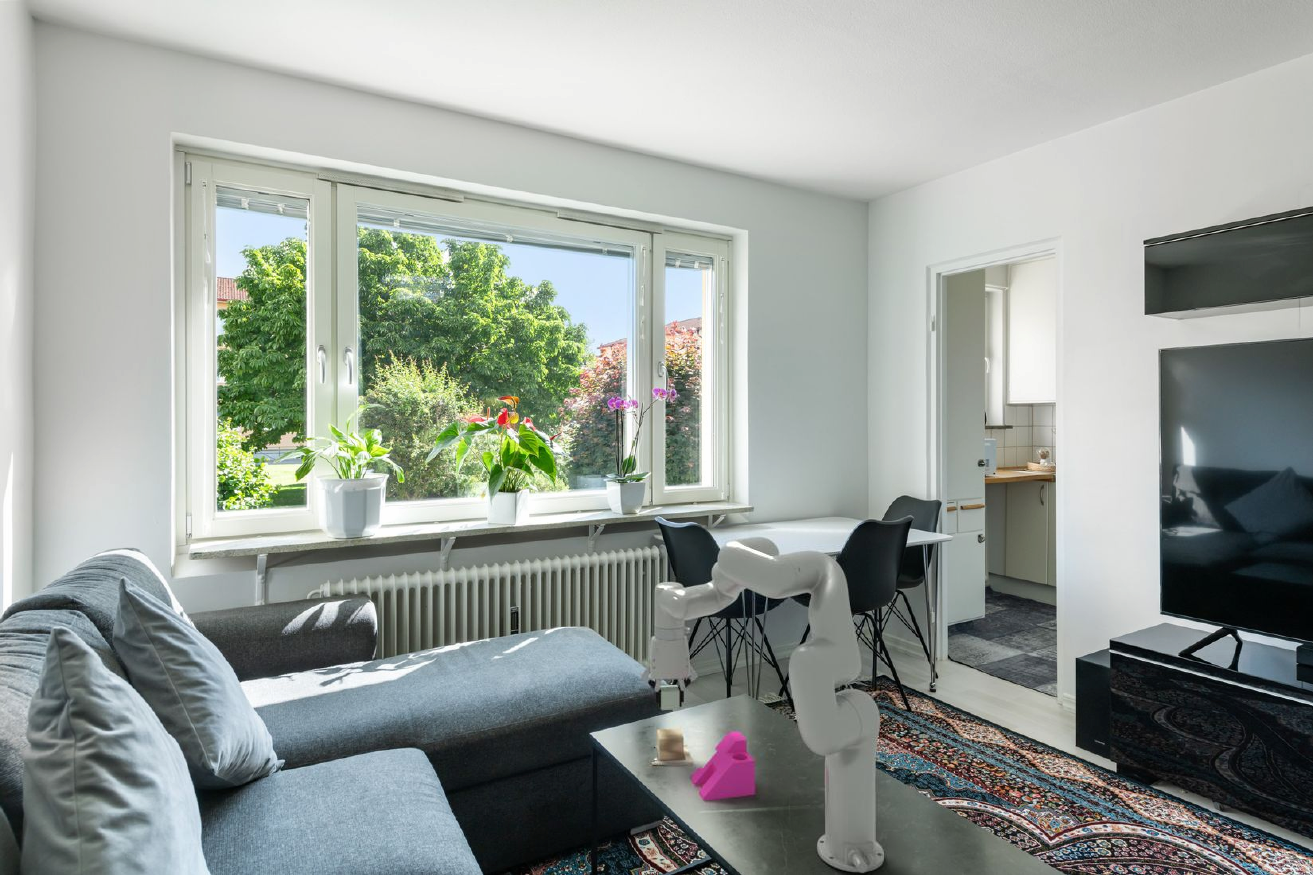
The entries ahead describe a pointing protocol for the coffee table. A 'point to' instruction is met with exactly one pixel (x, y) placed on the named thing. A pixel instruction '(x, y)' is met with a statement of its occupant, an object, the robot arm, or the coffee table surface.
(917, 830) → the coffee table surface
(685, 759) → the birch board
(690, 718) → the coffee table surface
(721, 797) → the bracket
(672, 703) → the sage cube
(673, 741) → the oak block
